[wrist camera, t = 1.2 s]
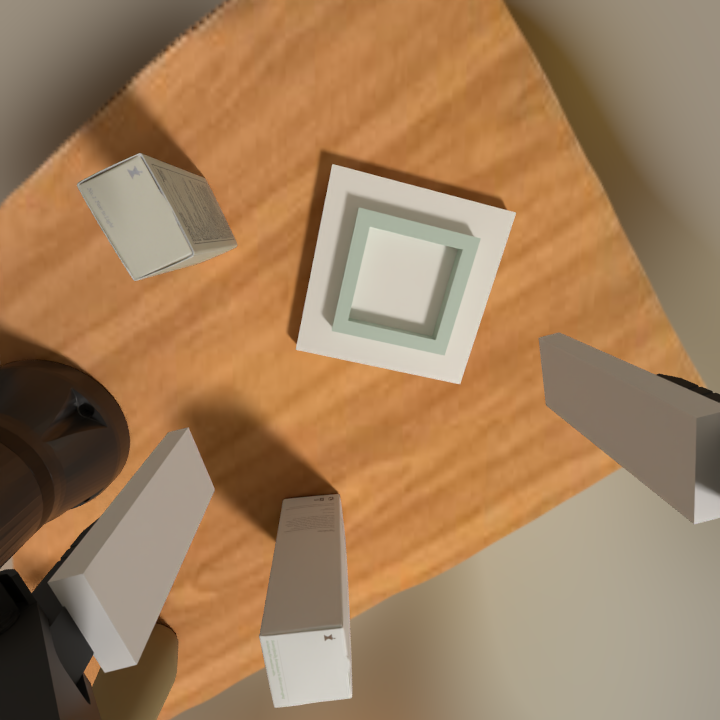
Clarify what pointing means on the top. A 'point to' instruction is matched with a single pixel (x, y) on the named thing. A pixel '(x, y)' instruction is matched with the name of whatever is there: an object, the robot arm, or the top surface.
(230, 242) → the skincare box
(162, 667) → the squeeze bottle
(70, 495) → the robot arm
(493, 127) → the top surface
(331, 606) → the skincare box
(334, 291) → the collar plate
